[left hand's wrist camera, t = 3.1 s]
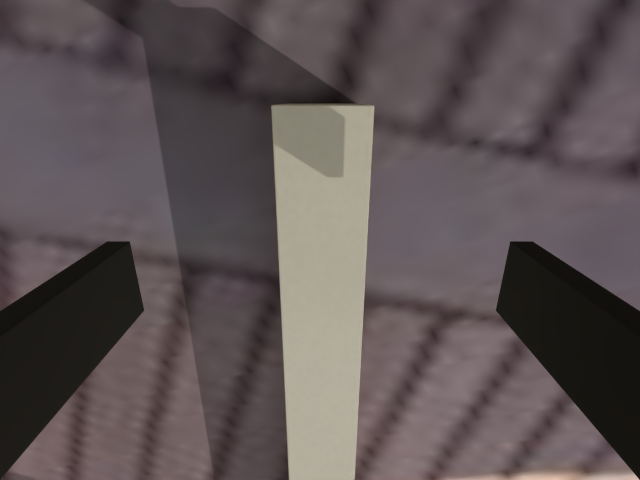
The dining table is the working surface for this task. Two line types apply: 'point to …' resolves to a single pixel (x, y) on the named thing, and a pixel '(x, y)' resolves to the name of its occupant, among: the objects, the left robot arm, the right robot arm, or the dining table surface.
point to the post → (322, 278)
